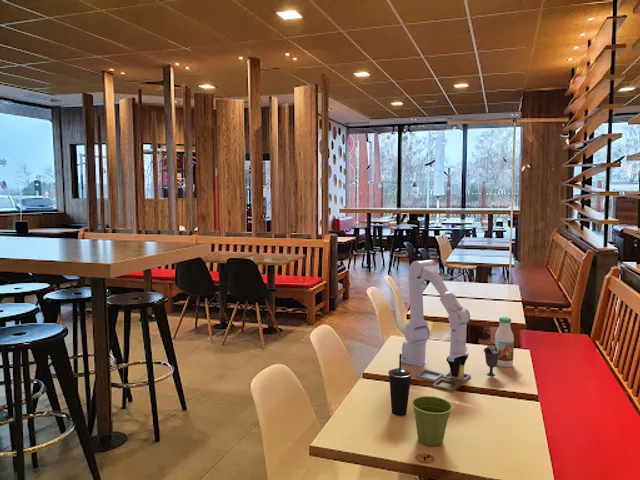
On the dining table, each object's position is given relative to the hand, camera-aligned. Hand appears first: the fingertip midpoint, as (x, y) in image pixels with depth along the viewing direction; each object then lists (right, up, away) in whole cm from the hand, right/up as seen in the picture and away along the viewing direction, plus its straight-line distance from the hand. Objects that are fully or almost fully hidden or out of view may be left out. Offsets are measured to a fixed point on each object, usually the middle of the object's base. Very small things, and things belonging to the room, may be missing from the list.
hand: (457, 374), depth 198 cm
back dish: (0, -2, 0) cm, 2 cm away
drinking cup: (-27, -5, -29) cm, 40 cm away
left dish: (-10, -2, +1) cm, 10 cm away
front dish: (-6, -3, -8) cm, 10 cm away
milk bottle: (+24, -1, +17) cm, 29 cm away
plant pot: (-20, -7, -47) cm, 52 cm away
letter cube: (0, -2, 0) cm, 2 cm away
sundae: (+14, -2, +4) cm, 15 cm away
